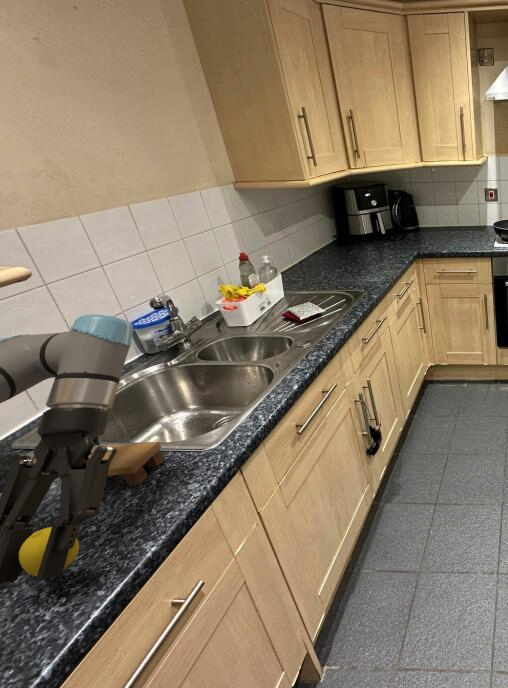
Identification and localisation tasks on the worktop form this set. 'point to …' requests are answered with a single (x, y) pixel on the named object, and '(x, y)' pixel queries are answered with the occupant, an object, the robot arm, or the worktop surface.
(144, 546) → the worktop surface
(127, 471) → the serving board
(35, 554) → the lemon
